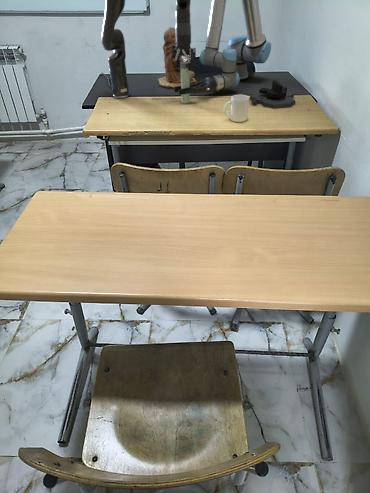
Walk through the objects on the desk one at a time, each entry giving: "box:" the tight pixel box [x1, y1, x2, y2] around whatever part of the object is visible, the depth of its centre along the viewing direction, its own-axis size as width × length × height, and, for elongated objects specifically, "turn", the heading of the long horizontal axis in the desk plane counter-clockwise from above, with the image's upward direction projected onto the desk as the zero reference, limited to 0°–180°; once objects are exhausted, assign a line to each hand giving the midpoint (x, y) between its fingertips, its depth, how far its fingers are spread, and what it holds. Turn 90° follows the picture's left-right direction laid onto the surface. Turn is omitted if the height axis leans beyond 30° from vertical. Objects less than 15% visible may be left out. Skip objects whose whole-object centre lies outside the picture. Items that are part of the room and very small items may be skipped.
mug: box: [222, 94, 250, 123], centre depth 170 cm, size 12×8×10 cm
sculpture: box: [157, 27, 197, 89], centre depth 214 cm, size 27×24×30 cm
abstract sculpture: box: [249, 79, 296, 109], centre depth 189 cm, size 25×9×20 cm
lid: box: [180, 60, 188, 68], centre depth 184 cm, size 5×5×2 cm
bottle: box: [180, 68, 191, 104], centre depth 189 cm, size 4×4×19 cm
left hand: (183, 69), depth 184 cm, fingers open, 7 cm apart
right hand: (176, 91), depth 189 cm, fingers closed on bottle, 5 cm apart
